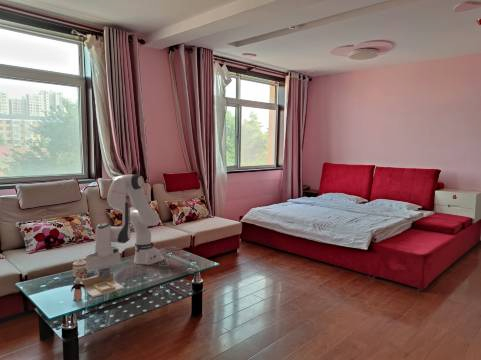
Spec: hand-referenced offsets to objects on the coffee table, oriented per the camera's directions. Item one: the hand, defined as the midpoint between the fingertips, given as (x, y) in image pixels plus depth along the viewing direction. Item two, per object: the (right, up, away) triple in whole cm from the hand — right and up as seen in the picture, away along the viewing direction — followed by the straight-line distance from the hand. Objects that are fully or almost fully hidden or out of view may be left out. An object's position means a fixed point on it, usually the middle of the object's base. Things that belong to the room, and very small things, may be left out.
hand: (103, 273), depth 205 cm
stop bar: (0, -2, 0) cm, 2 cm away
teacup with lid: (-23, -7, +22) cm, 32 cm away
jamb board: (-6, -9, +7) cm, 13 cm away
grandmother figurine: (-9, -11, -13) cm, 19 cm away
